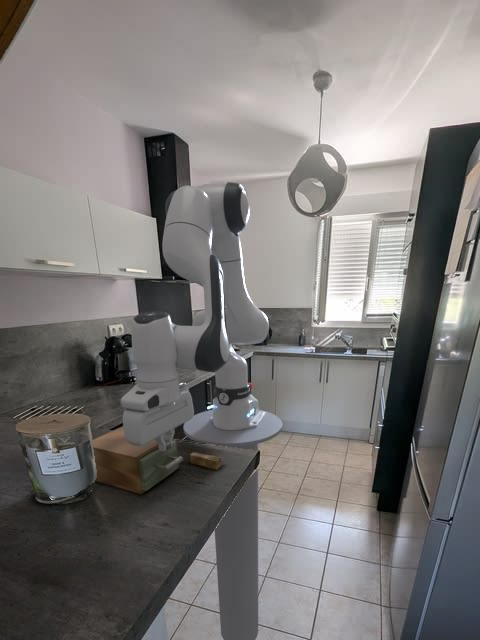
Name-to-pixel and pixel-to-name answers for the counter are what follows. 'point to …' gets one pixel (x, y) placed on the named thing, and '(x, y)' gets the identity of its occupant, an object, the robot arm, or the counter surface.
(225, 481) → the counter surface
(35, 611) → the counter surface
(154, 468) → the drawer
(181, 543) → the counter surface
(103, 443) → the cabinet
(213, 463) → the yellowish brown block
